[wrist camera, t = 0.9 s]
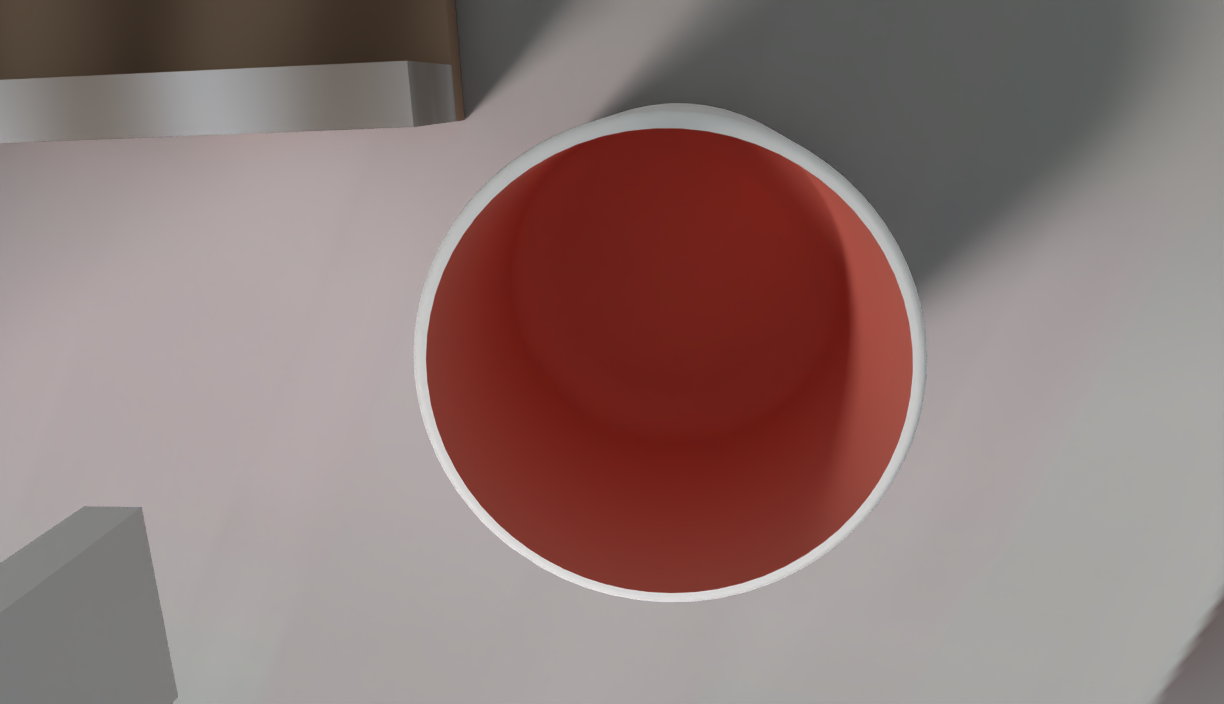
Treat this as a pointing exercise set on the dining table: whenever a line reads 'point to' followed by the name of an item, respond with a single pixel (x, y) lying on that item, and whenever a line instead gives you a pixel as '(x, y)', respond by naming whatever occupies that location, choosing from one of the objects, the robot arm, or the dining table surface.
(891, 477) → the cup
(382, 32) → the cradle
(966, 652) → the dining table surface
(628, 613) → the dining table surface
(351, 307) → the dining table surface
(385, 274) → the dining table surface
